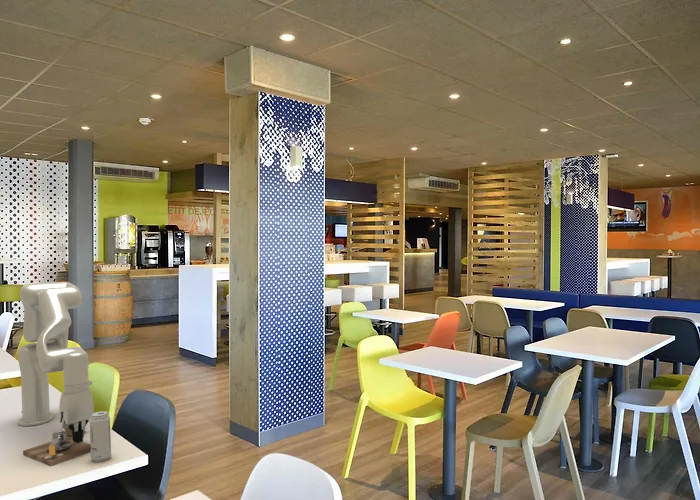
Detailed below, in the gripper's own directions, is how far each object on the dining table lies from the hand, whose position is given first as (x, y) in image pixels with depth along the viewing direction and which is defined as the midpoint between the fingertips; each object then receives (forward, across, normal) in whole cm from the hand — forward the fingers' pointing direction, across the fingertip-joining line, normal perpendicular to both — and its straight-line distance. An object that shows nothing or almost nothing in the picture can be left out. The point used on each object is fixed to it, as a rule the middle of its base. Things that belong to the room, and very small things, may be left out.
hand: (78, 441), depth 180 cm
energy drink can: (+4, -1, +12) cm, 12 cm away
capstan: (+2, +6, -3) cm, 7 cm away
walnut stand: (+4, +3, -6) cm, 8 cm away
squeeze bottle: (+4, -10, -20) cm, 22 cm away
